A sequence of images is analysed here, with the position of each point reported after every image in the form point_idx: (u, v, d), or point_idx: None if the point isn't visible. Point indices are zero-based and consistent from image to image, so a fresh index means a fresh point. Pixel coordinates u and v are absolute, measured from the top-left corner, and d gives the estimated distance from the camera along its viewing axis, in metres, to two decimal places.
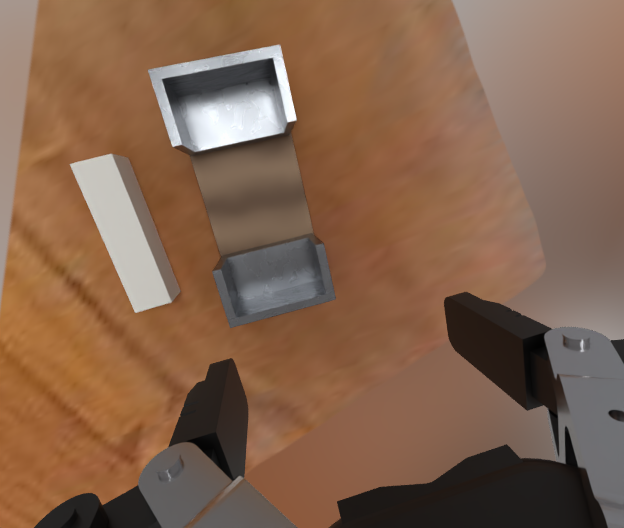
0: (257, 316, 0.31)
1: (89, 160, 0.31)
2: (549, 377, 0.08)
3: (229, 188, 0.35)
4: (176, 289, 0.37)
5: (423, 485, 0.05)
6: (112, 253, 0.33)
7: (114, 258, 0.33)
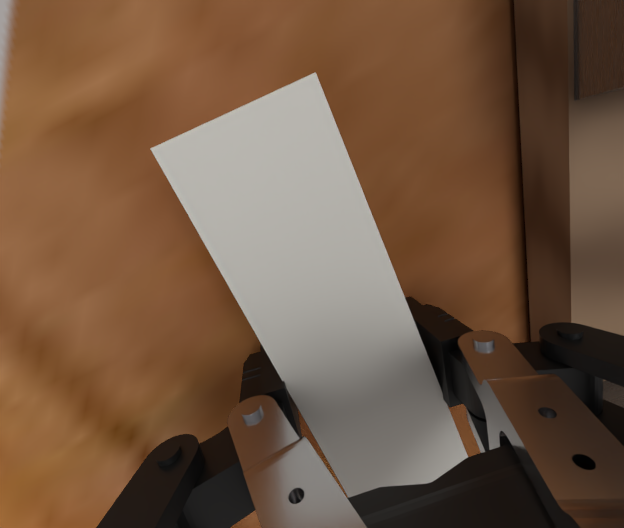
0: None
1: (229, 118, 0.07)
2: (462, 376, 0.08)
3: None
4: None
5: (422, 485, 0.05)
6: (331, 445, 0.09)
7: (337, 457, 0.10)
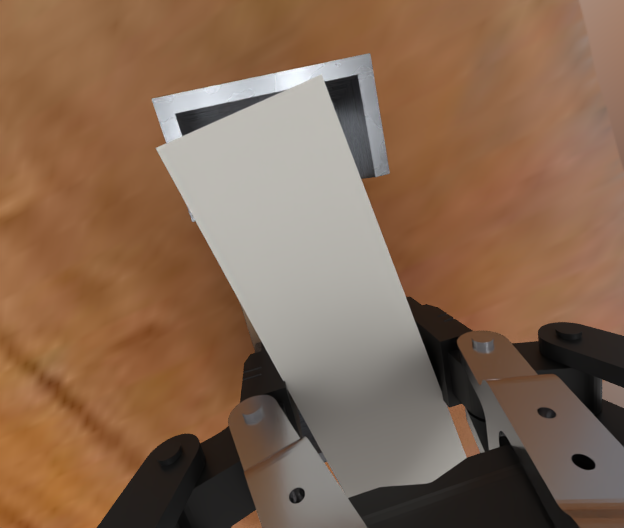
0: None
1: (234, 119, 0.07)
2: (461, 377, 0.08)
3: None
4: None
5: (423, 485, 0.05)
6: (331, 446, 0.09)
7: (336, 459, 0.10)
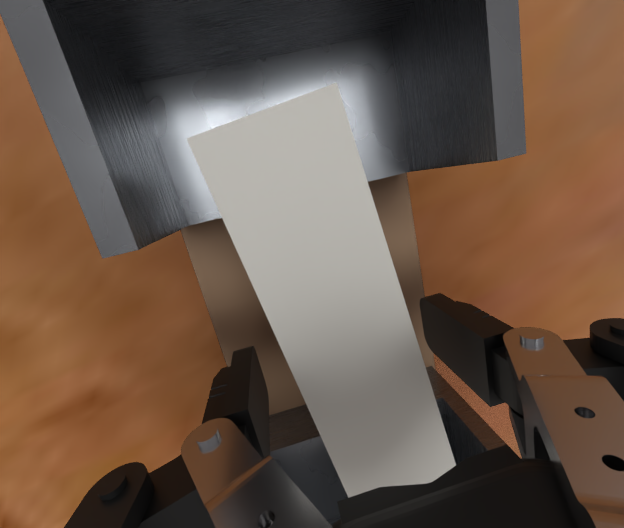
0: None
1: (257, 117, 0.08)
2: (507, 374, 0.08)
3: None
4: None
5: (422, 485, 0.05)
6: (325, 422, 0.10)
7: (329, 434, 0.10)
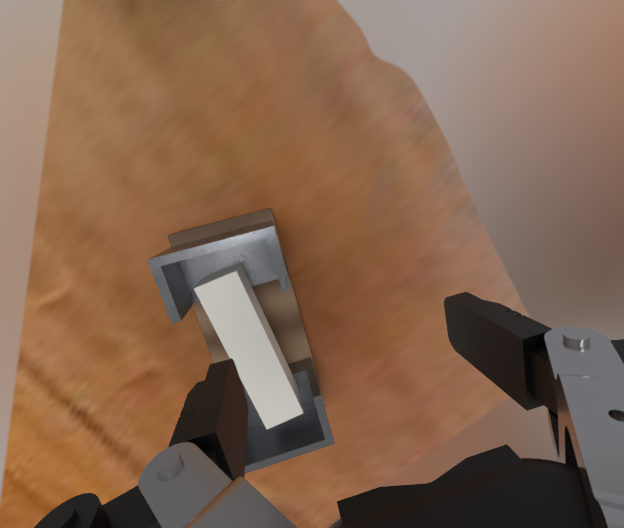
0: (258, 465, 0.31)
1: (213, 281, 0.28)
2: (548, 377, 0.08)
3: None
4: (298, 392, 0.34)
5: (422, 486, 0.05)
6: (241, 373, 0.30)
7: (243, 377, 0.30)
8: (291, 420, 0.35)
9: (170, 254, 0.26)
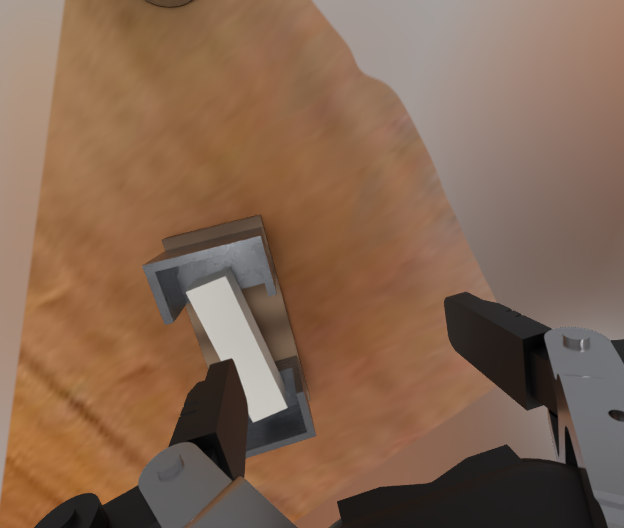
0: None
1: (204, 285, 0.30)
2: (549, 377, 0.08)
3: None
4: (284, 388, 0.37)
5: (423, 485, 0.05)
6: None
7: None
8: (277, 414, 0.38)
9: (163, 261, 0.28)
